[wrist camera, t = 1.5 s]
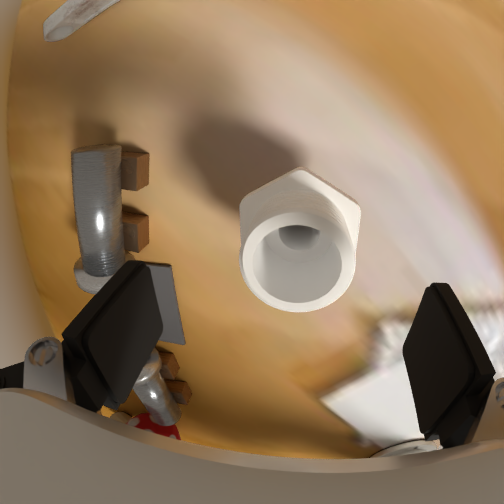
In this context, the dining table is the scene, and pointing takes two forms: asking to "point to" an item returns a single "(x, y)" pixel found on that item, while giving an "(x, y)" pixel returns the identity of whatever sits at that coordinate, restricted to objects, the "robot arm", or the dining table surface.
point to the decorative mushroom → (147, 424)
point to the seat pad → (167, 303)
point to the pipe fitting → (298, 241)
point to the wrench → (72, 17)
